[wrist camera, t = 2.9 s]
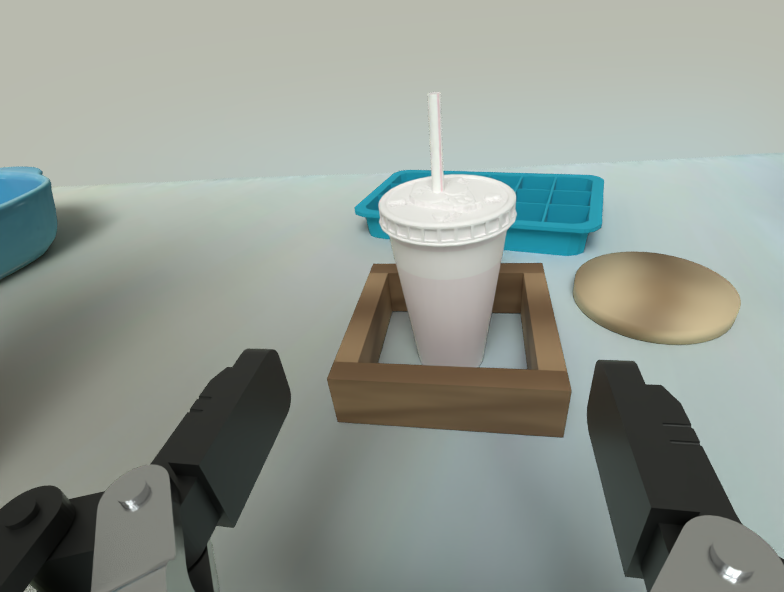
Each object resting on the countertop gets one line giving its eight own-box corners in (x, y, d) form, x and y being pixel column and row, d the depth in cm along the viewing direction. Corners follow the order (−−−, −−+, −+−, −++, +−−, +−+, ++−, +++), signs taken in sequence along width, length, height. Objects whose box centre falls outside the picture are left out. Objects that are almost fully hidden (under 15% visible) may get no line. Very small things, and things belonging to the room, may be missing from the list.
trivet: (571, 332, 26) (574, 319, 25) (573, 259, 33) (575, 247, 32) (755, 355, 23) (762, 340, 22) (715, 269, 30) (719, 257, 29)
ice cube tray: (594, 267, 32) (601, 230, 31) (353, 243, 40) (348, 212, 38) (598, 206, 41) (604, 175, 39) (400, 196, 48) (398, 169, 47)
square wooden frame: (563, 437, 20) (571, 390, 18) (337, 421, 22) (327, 378, 20) (538, 302, 29) (542, 263, 27) (378, 300, 31) (373, 263, 29)
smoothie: (457, 309, 29) (452, 77, 21) (532, 359, 24) (560, 85, 17) (376, 350, 26) (337, 102, 19) (442, 414, 22) (427, 120, 14)
